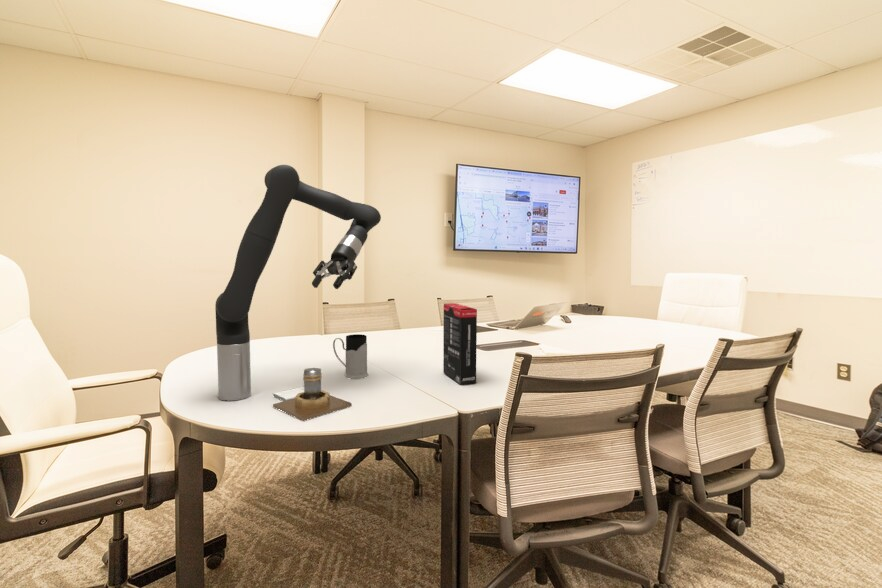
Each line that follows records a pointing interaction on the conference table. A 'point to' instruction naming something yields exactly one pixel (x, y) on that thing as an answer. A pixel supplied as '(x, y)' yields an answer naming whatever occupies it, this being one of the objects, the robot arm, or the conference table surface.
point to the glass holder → (355, 356)
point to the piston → (312, 383)
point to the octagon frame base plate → (311, 405)
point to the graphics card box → (460, 343)
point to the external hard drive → (288, 394)
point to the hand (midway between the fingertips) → (324, 286)
